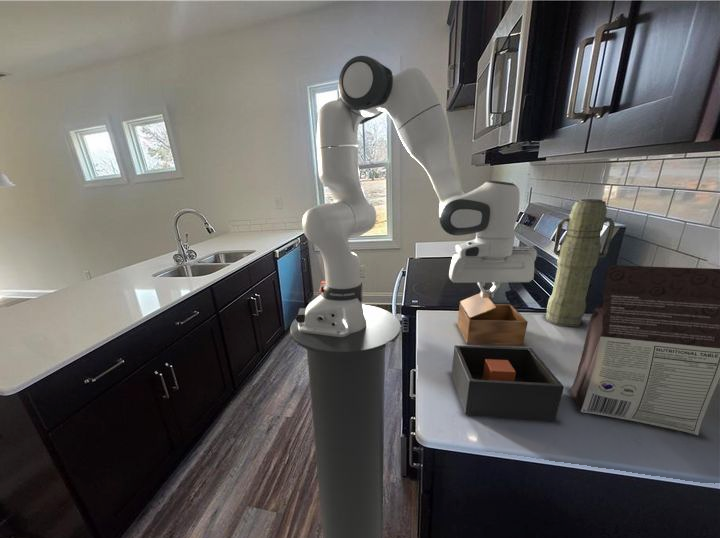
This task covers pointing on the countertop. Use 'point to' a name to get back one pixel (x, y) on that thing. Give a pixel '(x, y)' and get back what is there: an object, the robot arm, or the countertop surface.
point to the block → (498, 370)
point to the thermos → (577, 260)
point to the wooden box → (493, 326)
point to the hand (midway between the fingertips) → (486, 297)
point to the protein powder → (653, 347)
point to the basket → (506, 384)
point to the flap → (477, 305)
